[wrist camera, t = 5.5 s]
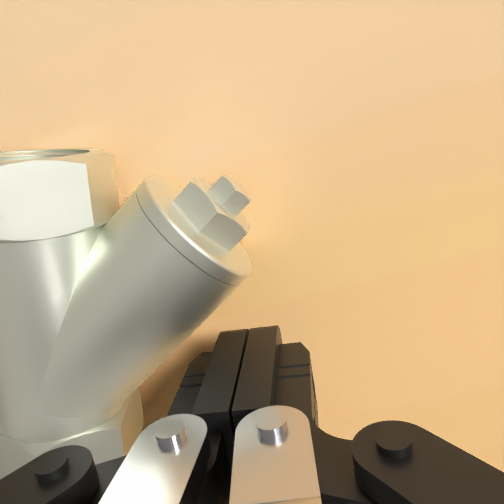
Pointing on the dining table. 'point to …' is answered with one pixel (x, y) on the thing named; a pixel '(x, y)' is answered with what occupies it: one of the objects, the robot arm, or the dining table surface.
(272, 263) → the dining table surface
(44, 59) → the dining table surface
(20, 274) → the pipe fitting
